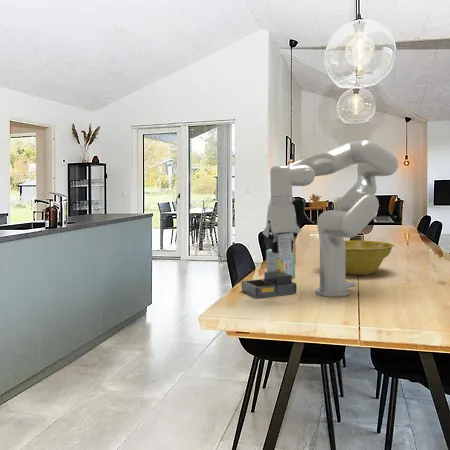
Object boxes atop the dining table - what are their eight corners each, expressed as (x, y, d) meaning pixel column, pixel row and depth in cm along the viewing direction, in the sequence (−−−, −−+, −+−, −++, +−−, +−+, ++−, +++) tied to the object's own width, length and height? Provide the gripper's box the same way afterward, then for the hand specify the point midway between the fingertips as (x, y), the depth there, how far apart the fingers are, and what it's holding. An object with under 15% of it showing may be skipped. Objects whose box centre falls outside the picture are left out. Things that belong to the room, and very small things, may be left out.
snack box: (283, 276, 212) (283, 243, 211) (295, 277, 209) (295, 244, 208) (265, 286, 193) (265, 249, 192) (278, 287, 191) (278, 250, 189)
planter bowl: (321, 265, 237) (321, 239, 236) (388, 267, 230) (389, 239, 229) (321, 278, 206) (321, 248, 204) (399, 280, 199) (399, 249, 198)
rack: (279, 286, 191) (279, 269, 190) (296, 293, 179) (296, 275, 178) (241, 291, 184) (241, 273, 184) (256, 298, 172) (256, 280, 172)
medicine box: (291, 258, 163) (291, 234, 162) (279, 259, 162) (279, 234, 162) (285, 255, 171) (284, 231, 170) (273, 256, 170) (272, 232, 169)
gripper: (297, 199, 171) (297, 248, 173) (254, 201, 165) (256, 252, 167) (308, 200, 165) (308, 251, 166) (264, 202, 158) (265, 255, 160)
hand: (282, 251), depth 167 cm, fingers closed on medicine box, 5 cm apart
